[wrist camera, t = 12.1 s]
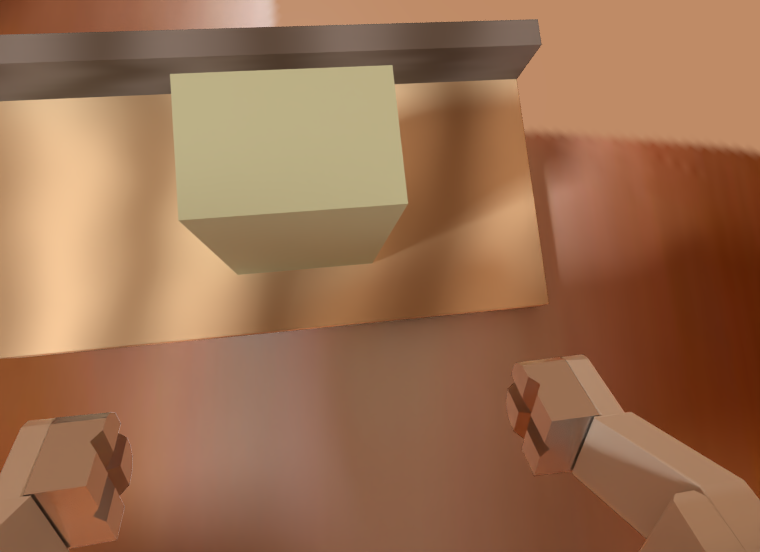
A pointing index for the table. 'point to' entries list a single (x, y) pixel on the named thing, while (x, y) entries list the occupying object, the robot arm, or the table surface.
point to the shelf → (192, 257)
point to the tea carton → (289, 165)
